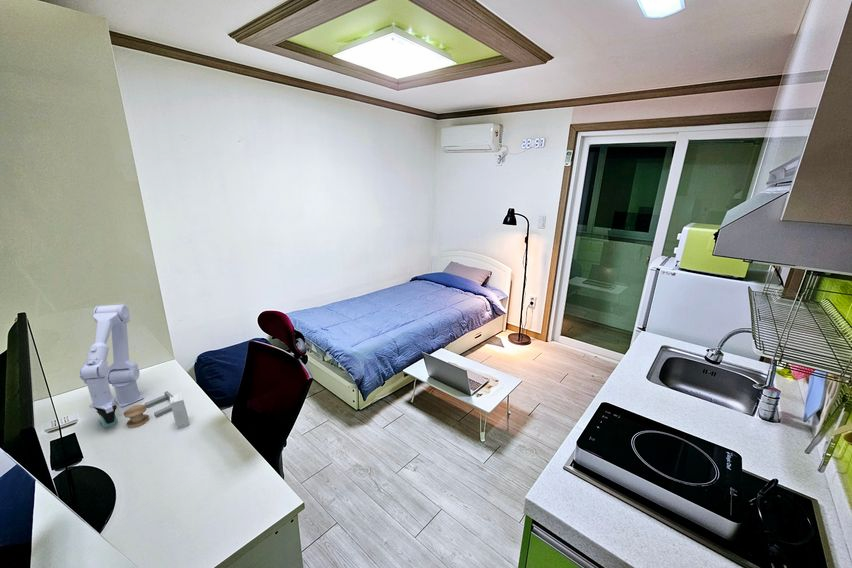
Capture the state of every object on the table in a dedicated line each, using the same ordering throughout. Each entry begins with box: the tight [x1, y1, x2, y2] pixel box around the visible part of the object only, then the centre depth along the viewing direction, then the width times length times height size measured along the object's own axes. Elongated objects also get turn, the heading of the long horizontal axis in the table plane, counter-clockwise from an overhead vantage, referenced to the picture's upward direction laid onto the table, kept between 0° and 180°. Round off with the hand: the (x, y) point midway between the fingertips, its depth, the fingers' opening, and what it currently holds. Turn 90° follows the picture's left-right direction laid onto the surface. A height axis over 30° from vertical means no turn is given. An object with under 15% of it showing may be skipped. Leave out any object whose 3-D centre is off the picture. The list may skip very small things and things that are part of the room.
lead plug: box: [98, 414, 118, 429], centre depth 137 cm, size 4×4×7 cm
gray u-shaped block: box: [144, 390, 174, 418], centre depth 148 cm, size 12×9×3 cm
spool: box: [123, 404, 150, 428], centre depth 139 cm, size 7×7×6 cm
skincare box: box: [169, 392, 190, 429], centre depth 138 cm, size 6×4×12 cm
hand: (108, 420), depth 138 cm, fingers closed on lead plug, 4 cm apart
